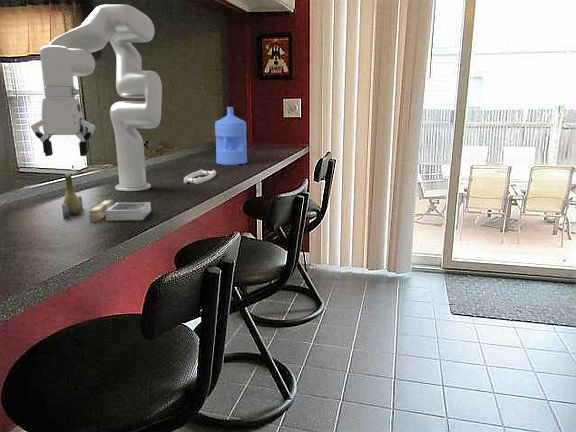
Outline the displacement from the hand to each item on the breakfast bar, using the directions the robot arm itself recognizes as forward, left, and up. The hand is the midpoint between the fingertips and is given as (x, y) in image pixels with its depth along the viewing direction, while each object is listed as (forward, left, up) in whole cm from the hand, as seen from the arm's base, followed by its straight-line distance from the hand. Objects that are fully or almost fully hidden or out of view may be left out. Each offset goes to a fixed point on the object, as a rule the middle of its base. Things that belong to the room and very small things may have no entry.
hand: (66, 155), depth 132 cm
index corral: (+3, +17, -17) cm, 24 cm away
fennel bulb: (0, 0, -17) cm, 17 cm away
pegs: (0, 0, -17) cm, 17 cm away
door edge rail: (+2, +9, -17) cm, 19 cm away
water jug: (-102, +39, -17) cm, 111 cm away
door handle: (-58, +29, -18) cm, 67 cm away
